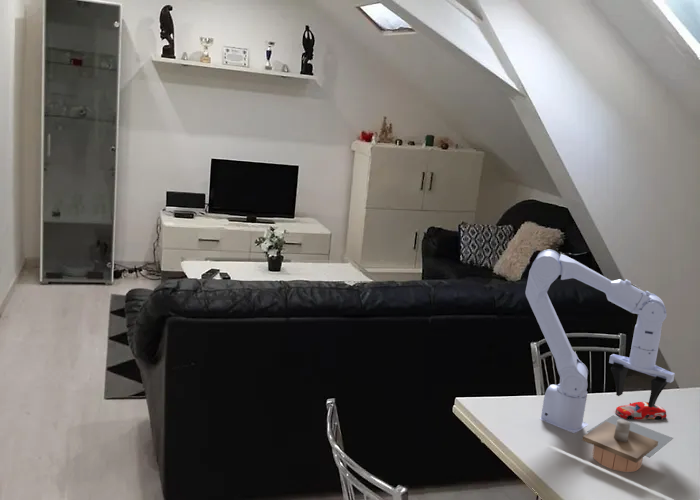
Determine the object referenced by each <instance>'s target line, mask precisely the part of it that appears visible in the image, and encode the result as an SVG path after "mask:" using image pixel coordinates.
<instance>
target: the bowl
mask: <svg viewBox="0 0 700 500" xmlns="http://www.w3.org/2000/svg"><path fill="white" fill-rule="evenodd" d="M592 446H593V447H592V450H591V451H592V457H593V460H595V461H596V462H598V464H599V465H602V466H604V467H606V468H608V471H610V470H613V471H618V472H624V473H630V472H631V473H632V472H636V471H638V470H640V468H642V464H643V458H644V457H643V458H642V459H640V460H639V461H638V462H637V463H635V462H633V461H630V460H628V459H626V458H623V457H621V456H619V455H616V454H614V453H611V452H609V451H607V450H604V449H602V448H599V447H597V446H595V445H592ZM604 467H601V468H604Z"/></svg>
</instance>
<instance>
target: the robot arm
mask: <svg viewBox="0 0 700 500" xmlns="http://www.w3.org/2000/svg"><path fill="white" fill-rule="evenodd" d="M559 276H560V280H562V281H564V280H569V279H570V280H571V279H575V280H577V281H579V282H581V283H583V284H585V285H588V286H590V287H592V288H594V289H596V290H598V291H600V292H603V293H604V294H605V295H606V299H607V301H608V302H611V304H615V305H616V306H618V307H620V308H622V309H624V310H626V311H627V312H629V313H631V314H636V315H637V319H636V324H635V326H634V330H633V337H632V342H631V347H630V348H631V349H630V353H629V357H628V356H623V355H619V354H615V353H612V354H611V355H609V361H608V363H609V364H612V366H611V367H610V371H611V373H612V376H613V379H614V384H615V395H616V396H618V397H620V396H622V395H623V393H624V389H625V383H626V378H627V374H628V371H629V370H633V371H635V372H639V373H642V374H646V375H648V376H651V377H654V378H653V379H651V381H650V382H651V383H650V385H651V386H650V395H649V400H648V402H649V404H648V407H651V408H652V407H653V406H654V405H656V402H657V400H658V398H659V397H660V394H661V393H662V391H663V390H664V388H665V387H666V386H667V385H668V384H671V383H673V382H674V380H675V375H676V374H675V372H672V371H669V370H668V369H665V368H662V367H660V366H658V365H657V364H656V363H657V357H658V353H659V347H660V342H661V341H660V340H661V335H662V328H663V322H664V321H665V320H666V318H667V316H668V314H667V308H666V306H665V303H664V301H663V300H662V299H661V297H659V296H658V295H657V294H655V293H652V292H650V291H648V290H645V291H644V290H642V289H640V288H638V287H636V286H634V285H632V282H631V280H630V279H629V280H628V279H627V278H626V279H625V280H623V279H620V278H619V279H615V280H611V279H610V278H607V277H606V276H604V275H602V274H600V273H599V272H597V271H595V270H594V269H592V268H589V267H588V266H587V265H585V264H583V263H581V262H580V261H577V260H576V259H574V258H571V257H569V256H568V255H566V254H562V253H559V252H557V251H556V250H554V249H545V250H541V251H540V252H538V254H537V256H536V258H535V259H534V261H533V262H532V264H531V267H530V269H529V272H528V277H527V283H526V287H525V293H524V294H525V297H526V299H527V301H528V303H529V306H530V308H531V310H532V312H533V314H534V316H535V318H536V321H537V323H538V325H539V328H540V330H541V332H542V334H543V336H544V338H545V341H546V343H547V345H548V347H549V350H550V352H551V354H552V356H553V359H554V362H555V366H556V369H557V373H558V375H559V383H558V384H554V383H553V384H549V386H548V387H547V388H546V390H545V393H544V397H543V401H542V402H543V403H542V408H541V409H542V410H541V416H540V417H539V420H541V421H543V422H545V423H547V424H550V425H553V426H555V427H558V428H560V429H562V430H565V431H566V432H570V433H572V434H577V433H578V432H579V431H581V430H583V429H584V428H586V427H587V426H589V425H590V424H589V423H587V422H586V421H585V422H584V416H585V411H586V405H587V404H586V403H587V400H588V399H587V398H588V393H589V392H588V391H587V389H588V384H589V383H588V375H589V370H588V367H587V366H586V364H585V363H583V362H582V360H580V359H579V357H578V354H577V353H576V352H575V351H574V350H573V347H572V345H571V343H570V341H569V339H568V337H567V334H566V332H565V330H564V328H563V325H562V323H561V321H560V319H559V316H558V315H557V312H556V310H555V308H554V306H553V304H552V301H551V299H550V297H549V294H548V291H549V289H550V286H551V285H552V284H553V283H554V281H556V280H557V279H558V278H559Z"/></svg>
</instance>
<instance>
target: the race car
mask: <svg viewBox="0 0 700 500" xmlns="http://www.w3.org/2000/svg"><path fill="white" fill-rule="evenodd" d="M648 404H649V401H648V402H647V401H635V402H632V403H631V402H629V404H625V405H620V406H619V405H618V406H617V407H616V409H615V411H614V412H615V414H616V415H615V416H617V417H619V418H622V419H625V420H652V421H653V420H660V421H661V420H662V421H663V420H666V419H667V411H666V409H665V408H663V407H662V406H660V405H657V404H655V405H654V406H653V407H652V408H651V407H648Z"/></svg>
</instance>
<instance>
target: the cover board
mask: <svg viewBox="0 0 700 500" xmlns="http://www.w3.org/2000/svg"><path fill="white" fill-rule="evenodd" d="M622 419H623V418H622ZM622 419H619V420H617V423H616V425H614V424H612V423H609V422H604V423H603V424H601V425H600V426H598V427H597V428H595V429H593V430H592V431H590V432H589V433H588V432H587V433H586V434H584V435H583V436H582V440H581V441H582V442H585V443H588V444H590V445H592V446H594V445H595V446H597V447H599V448H602V449H604V450H607V451H609V452H611V453H614V454H616V455H619V456H621V457H623V458H626V459H628V460H630V461H633V462H635V463H637V462H638V461H639V460H640V459H642V458H644V457H646V456H645V455H647V454H648V453H649V452H650V451H651V450H653V449H654V448H655V447H656V446H657V445H658V441H655V440H653V439H650V438H648V437H645V436H643V435H640V434H637V433H635V432H632V431H630V430H629V429H630V422H631V421H630V422H628V421H629V420H627V419H625V420H622ZM626 420H627V421H626ZM642 460H643V459H642Z"/></svg>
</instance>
